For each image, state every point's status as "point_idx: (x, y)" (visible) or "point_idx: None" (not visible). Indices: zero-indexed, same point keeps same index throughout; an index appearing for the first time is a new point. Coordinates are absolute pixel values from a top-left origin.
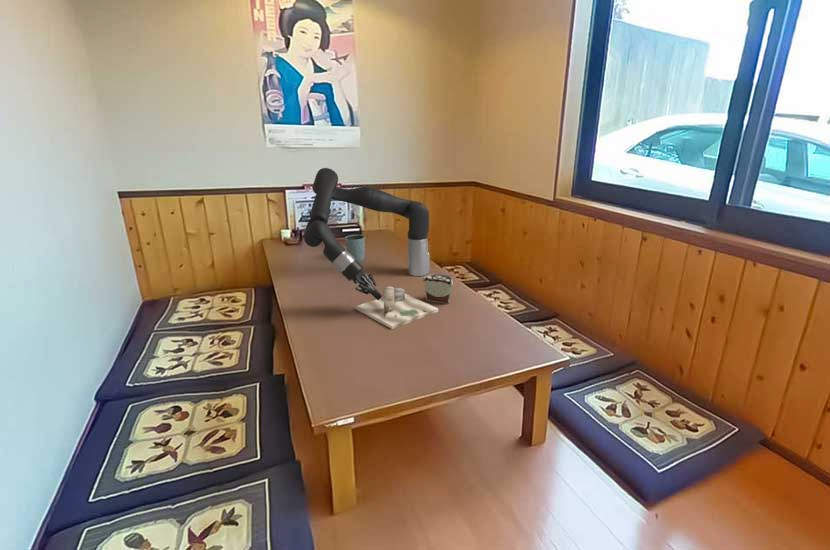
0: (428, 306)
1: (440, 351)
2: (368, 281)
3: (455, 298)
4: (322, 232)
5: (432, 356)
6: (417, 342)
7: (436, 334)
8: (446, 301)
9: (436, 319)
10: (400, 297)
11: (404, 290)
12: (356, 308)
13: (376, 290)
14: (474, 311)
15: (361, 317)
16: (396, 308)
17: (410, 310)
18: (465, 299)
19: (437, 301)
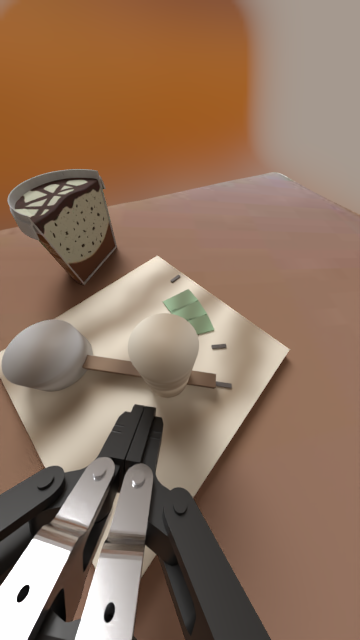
0: (143, 273)
1: (330, 257)
2: (27, 631)
3: None
4: None
5: (355, 267)
6: (320, 291)
7: (269, 263)
8: (112, 244)
9: (200, 264)
10: (85, 340)
11: (47, 320)
12: None
13: (126, 447)
14: (157, 216)
15: (225, 508)
16: None
17: (174, 309)
18: None
19: (100, 262)
